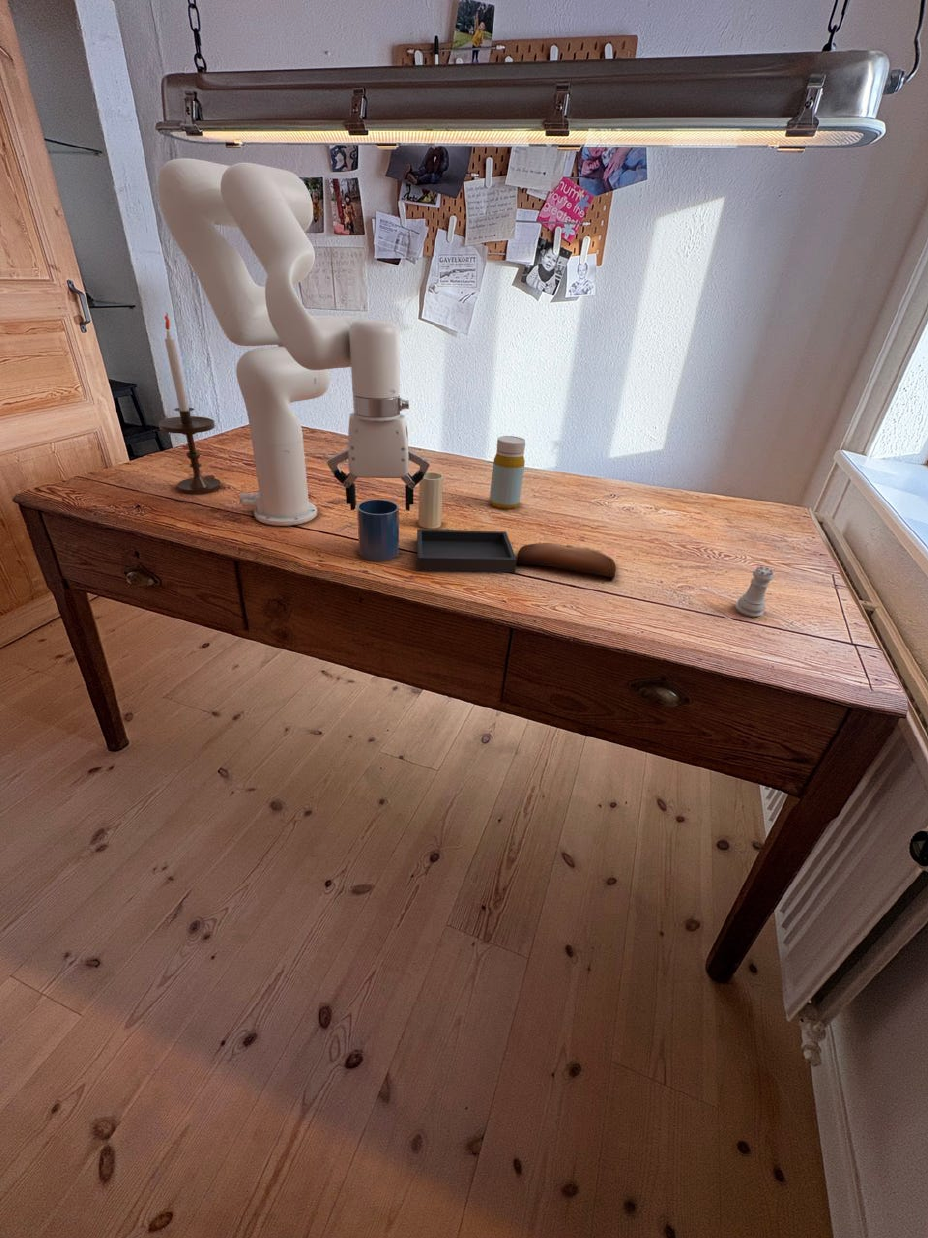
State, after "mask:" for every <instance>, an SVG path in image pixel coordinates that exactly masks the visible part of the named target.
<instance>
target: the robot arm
mask: <svg viewBox="0 0 928 1238" xmlns="http://www.w3.org/2000/svg"><path fill="white" fill-rule="evenodd" d="M157 179H158V180H157V192H158V201H159V205H160V209H161V213H162V215H163V219H164V220H165V223H166V227H167V228H168V230H169V232H170V234H171V236H172V238H173V240H174V241H175V243H176V244H177V246H178V248H179V249H180V251H181V252H182V254H183V255H184V257H185V259H187V261H188V262H189V264H190V266H191V268H192V269H193V271H194V273H195V274H196V277H197V278H198V281H199V283H200V286H201V288H202V290H203V292H204V294H205V296H206V298H207V300H208V302H209V304H210V307H211V309H212V311H213V313H214V315H215V318H216V319H217V322H218V323H219V326H220V328H221V330H222V331H223V333H224V334H225V336H226V338H227V339H228V340H229V341H230V342H231V343H232V344H234V345H237V346H241V347H260V348H254V349H251V350H248V351H247V352H244V353H243V354H242V355H241V356H240V357H239V359H238V361H237V363H236V368H235V375H236V380H237V383H238V387H239V390H240V392H241V396H242V399H243V402H244V406H245V409H246V413H247V417H248V418H247V419H248V425H249V431H250V436H251V443H252V451H253V457H254V464H255V465H254V466H255V472H256V479H257V485H258V486H257V487H258V492H255V493H241V492H240V493H239V494H238V500H239V503H240V504H242V507H254V511H253V514H254V519H256V520H257V522H260V523H262V524H265V525H270V526H278V527H289V526H297V525H301V524H305V523H308V522H310V521H313V520H314V519H315V518H316V517H317V516H318V508H317V506H316V505H315V504H314V503H312V502H310V501H309V500H310V499H309V489H308V477H307V468H306V457H305V445H304V436H303V429H302V424H301V423H300V420H299V418H298V417H297V416H296V414H295V412H294V411H293V409H292V408H291V405H290V404H291V403H295V402H303V401H308V400H309V401H310V400H314V399H318V398H320V397H321V396H324V395H325V394H326V393H327V391H328V389H329V386H330V382H331V381H330V380H331V377H330V370H332V369H346V368H350V369H351V370H350V371H351V387H352V388H351V391H352V409H353V412H351V413H350V414H349V418H348V428H347V430H348V431H347V433H348V434H347V449H345V450H343V451H341V452H339V453H338V454H335V455H333V456H332V457H329V458H328V459H327V461H326V464H327V466H328V468H329V469H330V471H331V473H332V474H333V476H334V478H335V479H336V480H338V481H339V482H340V483H341V485H343V487H344V488H345V497H346V498H345V499H346V504H347V505H349V506H350V511H355V510H356V508H357V496H356V484H355V483H354V482H355V481H356V480H357V479H358V478H361V479H362V478H363V479H364V478H366V479H401V481H402V482H403V483H404V484H405V487H404V489H405V491H404V492H405V493H404V494H405V497H404V498H405V511H408V512H409V511H410V509H411V508H410V507H411V505H414V502H415V501H414V500H415V499H414V489H415V488H416V486H417V484H418V485H419V482H420V481H421V480H422V479H423V478H424V475H425V474H426V472H428V469H429V468H430V467H431V466H430V465H431V464H430V460H429V459H426V458H425V457H423V456H421V455H419V454H417V453H415V452H413V451H411V450H409V436H408V426H407V421H406V417H405V416H406V415H405V414H403V413H401V412H403V411H404V410H409V409H410V400H407V399H403V397H401V394H400V393H401V388H400V386H401V384H400V383H401V382H400V381H401V379H400V373H401V371H400V334H399V329H398V327H397V325H396V324H395V323H393V322H391V321H387V320H379V319H365V318H363V317H361V316H356V315H351V314H350V315H348V314H347V315H346V314H343V315H341V314H340V315H336V314H332V315H331V314H330V315H328V314H326V315H322V314H319V315H317V314H315V315H311V314H310V313H309V312H308V311H307V309H306V308H305V306H304V304H303V303H302V301H301V300H300V298H299V297H298V294H297V293H296V291H295V289H294V287H295V286H296V285H298V284H299V283H300V282H302V281H303V280H304V279H305V278H306V277H307V276H308V275H309V274H310V273H311V271H312V269H313V267H314V265H315V262H316V252H315V248H314V245H313V244H312V242H311V241H310V239H309V238H308V236H307V234H306V232H307V230H308V229H309V228H310V226H311V225H312V223H313V218H314V205H313V199H312V197H311V196H312V195H311V194H310V191H309V189H308V187H307V185H306V184H305V183H304V182H303V180H302V179H301V178H300V177H299V176H298V175H297V174H295V173H294V172H291V171H289V170H285V169H281V168H277V167H272V166H268V165H263V164H258V163H253V162H238V163H234V164H232V165H227V164H222V163H217V162H213V161H208V160H203V159H197V158H188V157H186V158H185V157H183V158H182V157H181V158H174V159H171V160H169V161H167V162H165V163H164V164H163V165H162V167H161V169H160V170H159V173H158V178H157ZM216 226H222V227H230V228H239V231H240V232H241V234H242V235H243V237H244V238H245V241H246V242H247V243H248V246H249V247H250V248H251V250H252V252H253V254H254V255H255V257H256V258H257V260H258V261H259V263H260V265H261V267H262V268H263V269H264V271H265V273H266V280H265V285H264V286H261V285H259V284H257V283H256V282H255V281H254V280H253V277H252V276H251V275H250V273H249V271H248V268H247V266H246V263H245V261H244V259H243V258H242V256H241V255H240V253H239V251H238V250H237V249H236V247H235V246H233V244H232V243H231V242H230V241H229V240H228V239H227V238H226V237H225V236H224V235H223V234H221V233H220V232H219V230H217V228H216ZM261 346H263V347H261ZM264 346H269V347H264ZM271 346H272V347H271ZM346 460H347V462H348V463H347V464H348V470H349V472H348V473H347V474H346V473H345V472H344V471H343V470H342V469H341V468H340V466H339V464H341V463H343V462H345V461H346ZM410 462H412V463H414V464H416V465H418V467H419V468H418V470H417V471H416V472H415V473H414V474H413V475H412V474H411V473H410V472H409V468H410V467H409V466H410Z"/></svg>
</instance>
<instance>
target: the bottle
mask: <svg viewBox="0 0 928 1238" xmlns="http://www.w3.org/2000/svg"><path fill="white" fill-rule="evenodd" d="M496 440H497V441H496V453H495V455H494V458H493V461H492V471H491V483H490V493H489V502H490V505H492V506H493V507H494V508H497V509H502V510H513V509H516V508H517V507H518V506H519V505H520V504H521V503H520V502H521V496H522V489H523V479H524V473H525V472H524V471H525V456H524V455H525V448H526V447H525V446H526V439H524V438H523V437H520V436H513V435H502V436H498V437H497V439H496Z"/></svg>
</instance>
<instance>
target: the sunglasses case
mask: <svg viewBox="0 0 928 1238" xmlns="http://www.w3.org/2000/svg"><path fill="white" fill-rule="evenodd" d="M517 552H518V553H517V556H516V559H517V561H516V564H524V565H525V564H526V565H535V566H543V567H554V568H559V569H564V570H568V571H569V570H570V571H577V572H581V573H585V574H593V575H599V576H604V577H608V578H611V579H612V580H615V574H616V570H617V567H616V566H617V565H616V562H615V560H614V559H613V558H611V557H610V556H607V555H605V554H604V553H602V552H599V551H596V550H594V549H590V548H585V547H579V546H578V547H577V546H572V545H570V544H569V545H568V544H567V545H564V544H560V543H553V542H537V543H529V544H525V545H523V546H521V547H520V548H519V550H518V551H517Z"/></svg>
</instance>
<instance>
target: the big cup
mask: <svg viewBox="0 0 928 1238" xmlns="http://www.w3.org/2000/svg"><path fill="white" fill-rule="evenodd" d="M356 516H357V518H356V519H357V538H358V540H357V541H358V553H359V554H358V555H360V557H361V558H363V559H365V560H368V561H372V562H385V561H390V560H393V559H395V558H397V557H398V555H399V554H400V506H399V504H398V503H396V502H395V501H391V500H388V499H378V498H377V499H376V498H375V499H368V500H364V501H362V502H361V501H360V502H359V503H358V504H356Z"/></svg>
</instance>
